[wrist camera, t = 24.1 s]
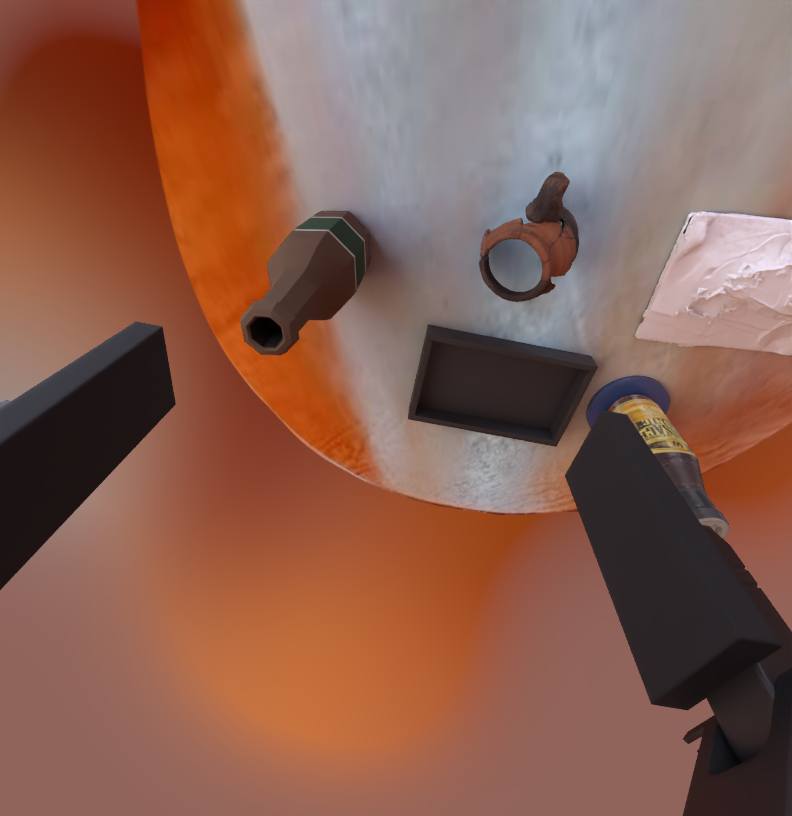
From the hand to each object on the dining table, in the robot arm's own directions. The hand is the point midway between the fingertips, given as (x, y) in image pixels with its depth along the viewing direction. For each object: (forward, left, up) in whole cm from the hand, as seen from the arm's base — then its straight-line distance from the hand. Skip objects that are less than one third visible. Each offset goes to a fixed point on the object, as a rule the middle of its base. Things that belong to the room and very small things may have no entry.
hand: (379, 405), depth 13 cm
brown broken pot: (0, +12, -37) cm, 39 cm away
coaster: (+19, +32, -37) cm, 52 cm away
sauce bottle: (+19, +32, -36) cm, 52 cm away
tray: (+19, +14, -37) cm, 43 cm away
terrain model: (+1, +38, -37) cm, 53 cm away
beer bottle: (+5, -8, -37) cm, 38 cm away
